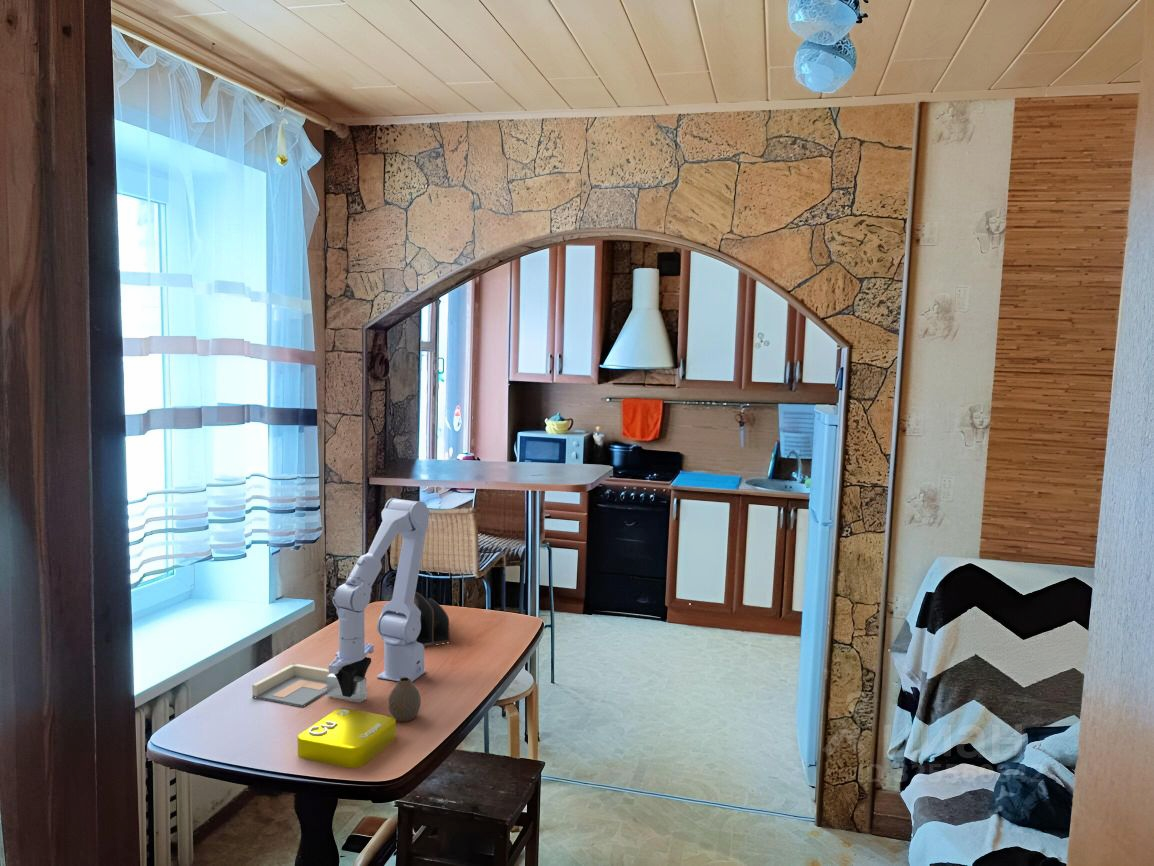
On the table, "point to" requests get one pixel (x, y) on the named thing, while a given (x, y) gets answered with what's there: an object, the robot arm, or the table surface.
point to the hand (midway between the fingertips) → (352, 692)
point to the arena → (293, 685)
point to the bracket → (358, 688)
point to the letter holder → (431, 622)
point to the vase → (404, 700)
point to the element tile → (347, 737)
